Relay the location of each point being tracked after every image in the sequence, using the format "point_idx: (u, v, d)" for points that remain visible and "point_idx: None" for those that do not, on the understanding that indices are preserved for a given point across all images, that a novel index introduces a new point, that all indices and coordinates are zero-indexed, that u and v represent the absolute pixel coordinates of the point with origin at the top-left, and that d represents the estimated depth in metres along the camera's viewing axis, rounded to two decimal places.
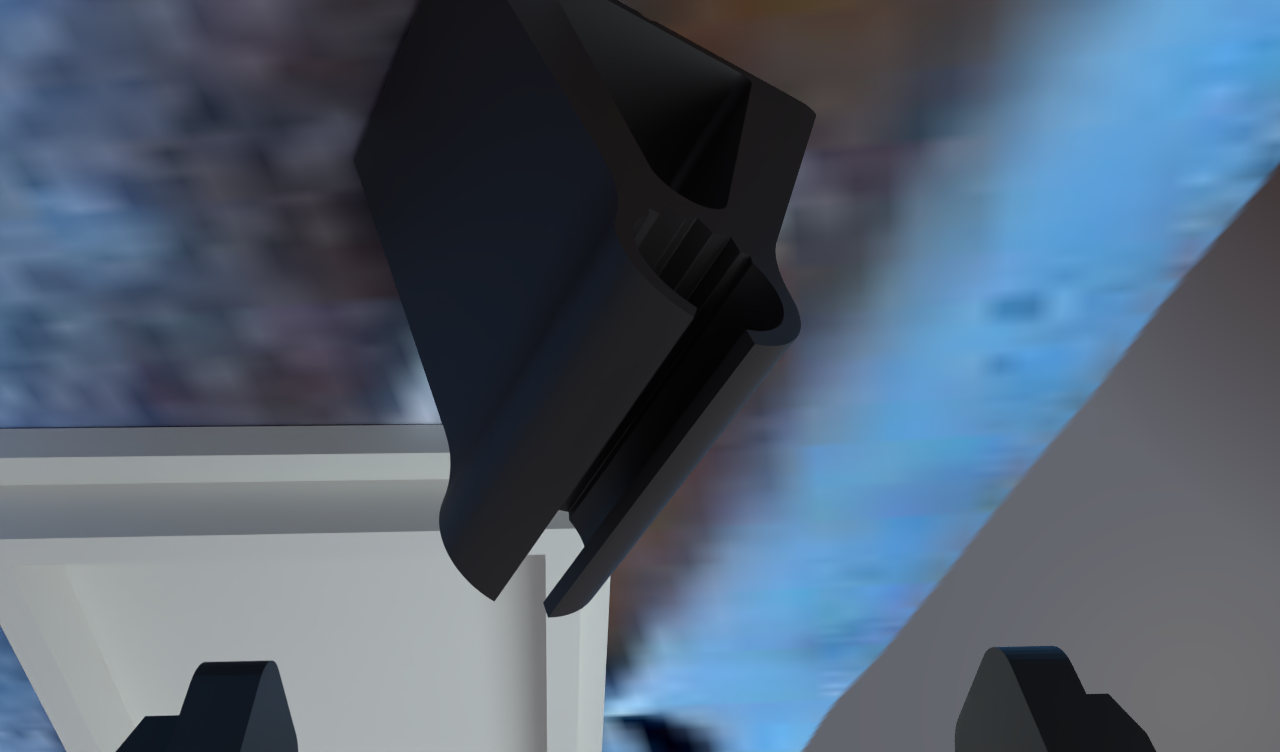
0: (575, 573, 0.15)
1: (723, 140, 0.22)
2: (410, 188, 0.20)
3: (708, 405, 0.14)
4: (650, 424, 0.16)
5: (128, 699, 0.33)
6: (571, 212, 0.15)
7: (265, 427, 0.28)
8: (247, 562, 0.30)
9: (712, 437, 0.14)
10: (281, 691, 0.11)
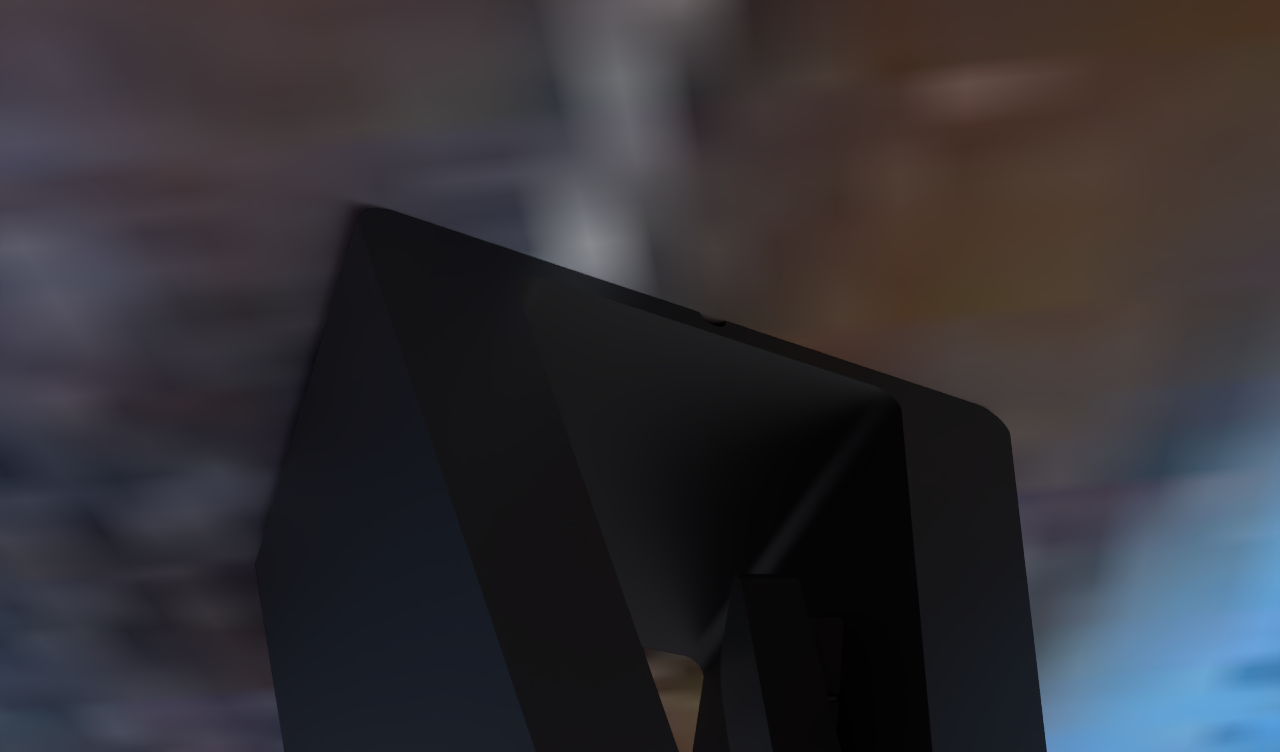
0: None
1: (864, 533, 0.12)
2: (316, 703, 0.11)
3: None
4: None
5: None
6: None
7: None
8: None
9: None
10: None
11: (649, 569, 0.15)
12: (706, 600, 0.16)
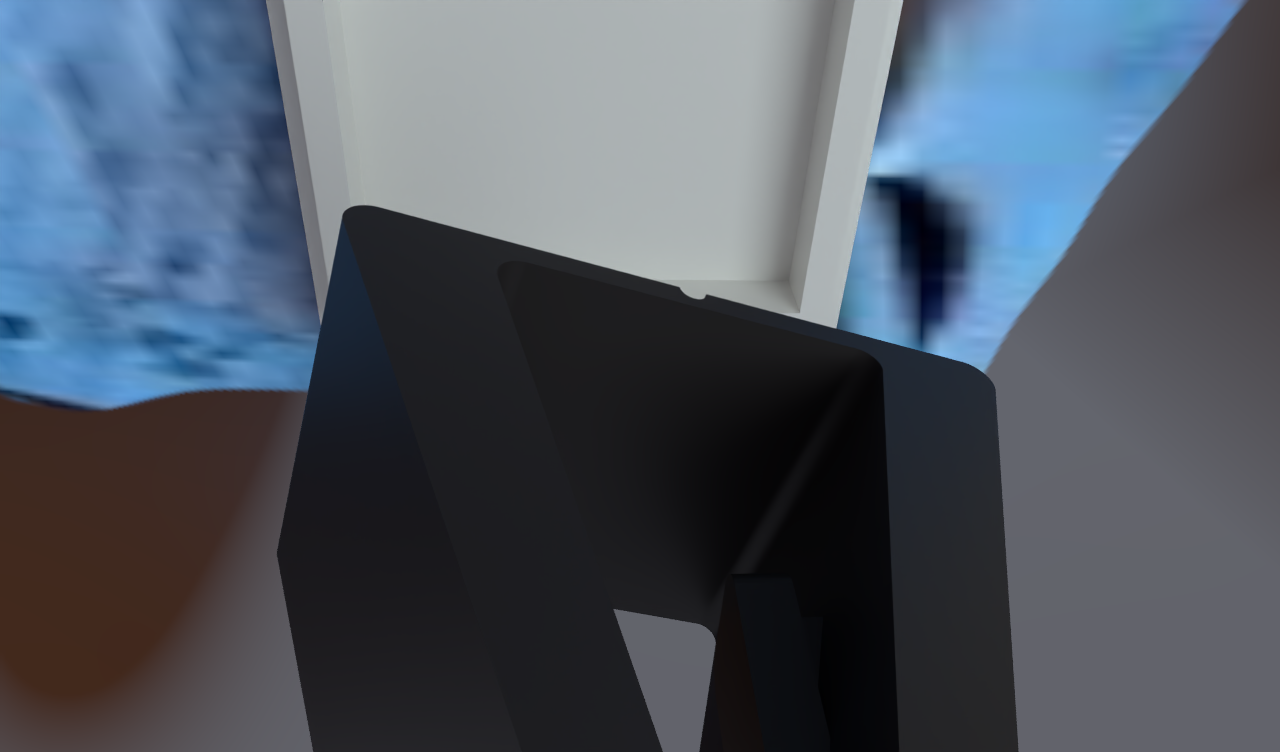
0: None
1: (849, 490, 0.13)
2: (331, 675, 0.12)
3: None
4: None
5: (353, 63, 0.29)
6: None
7: None
8: None
9: None
10: None
11: (653, 539, 0.16)
12: (712, 567, 0.16)
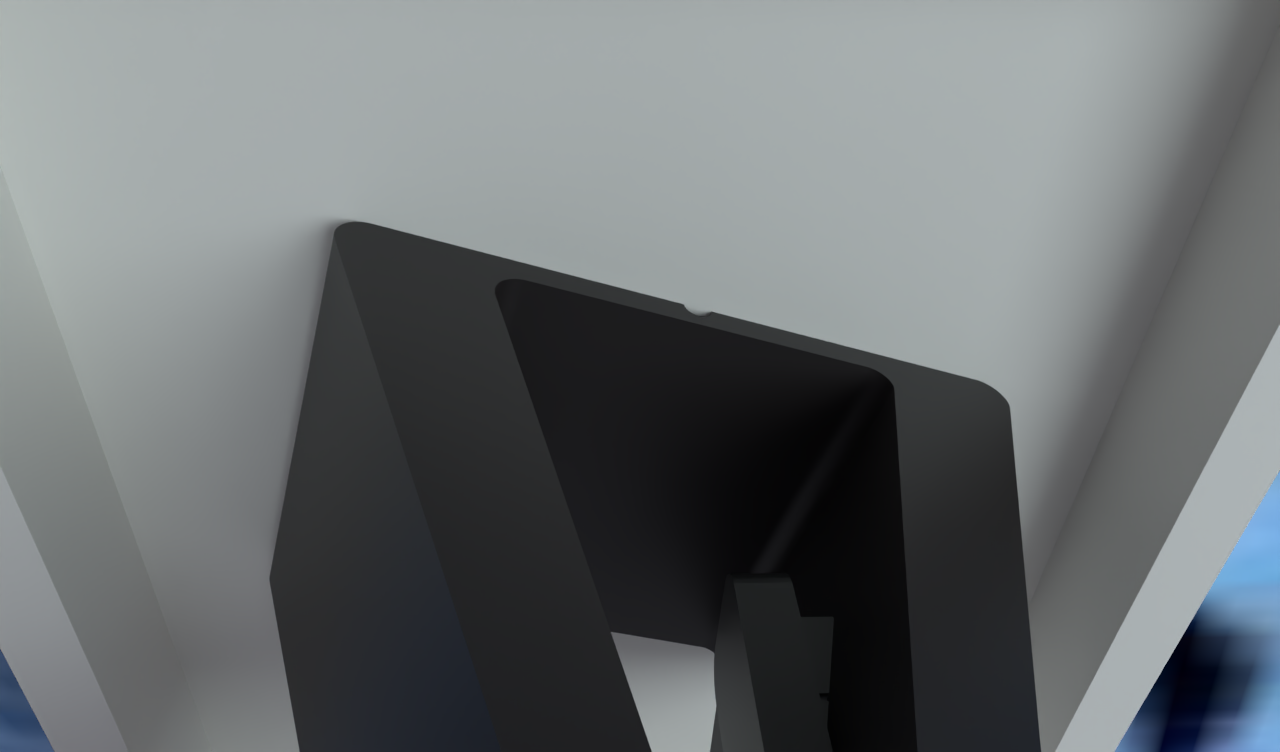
0: None
1: (860, 515, 0.12)
2: (323, 711, 0.12)
3: None
4: None
5: (141, 518, 0.14)
6: None
7: None
8: (471, 85, 0.11)
9: None
10: None
11: (657, 562, 0.15)
12: (718, 591, 0.16)
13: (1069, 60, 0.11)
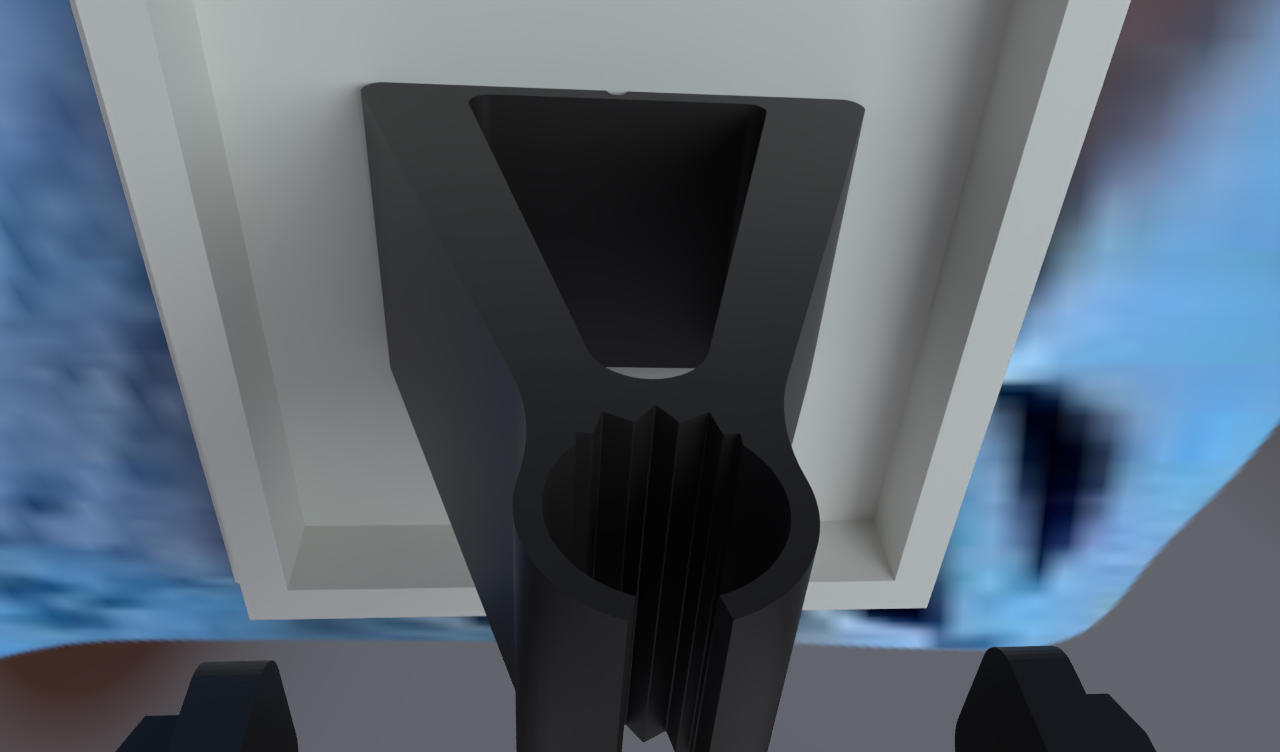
0: None
1: None
2: (422, 400, 0.18)
3: (722, 695, 0.09)
4: None
5: (260, 268, 0.20)
6: (513, 444, 0.12)
7: None
8: None
9: (760, 712, 0.10)
10: (281, 691, 0.11)
11: (653, 299, 0.21)
12: (706, 316, 0.21)
13: None
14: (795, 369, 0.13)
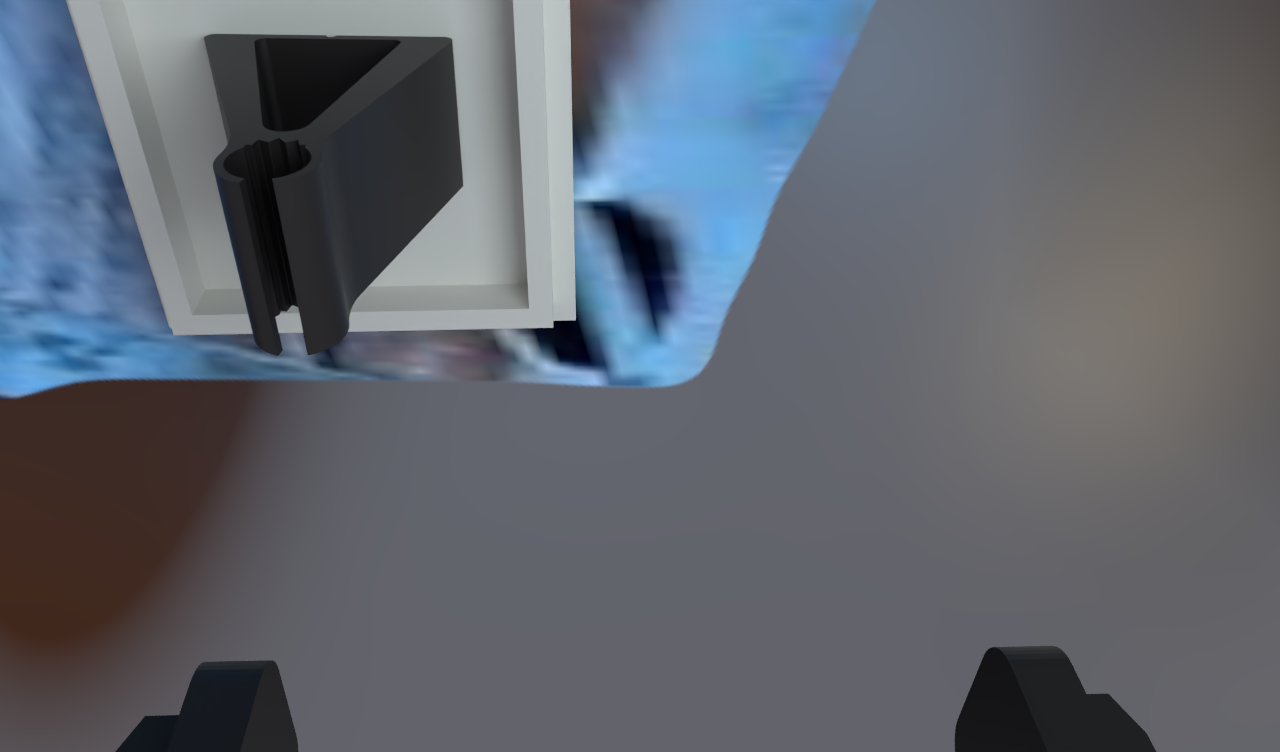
0: (302, 327, 0.31)
1: None
2: None
3: (282, 219, 0.29)
4: None
5: (165, 132, 0.39)
6: None
7: None
8: None
9: (305, 234, 0.29)
10: (281, 691, 0.11)
11: None
12: None
13: None
14: (362, 140, 0.33)
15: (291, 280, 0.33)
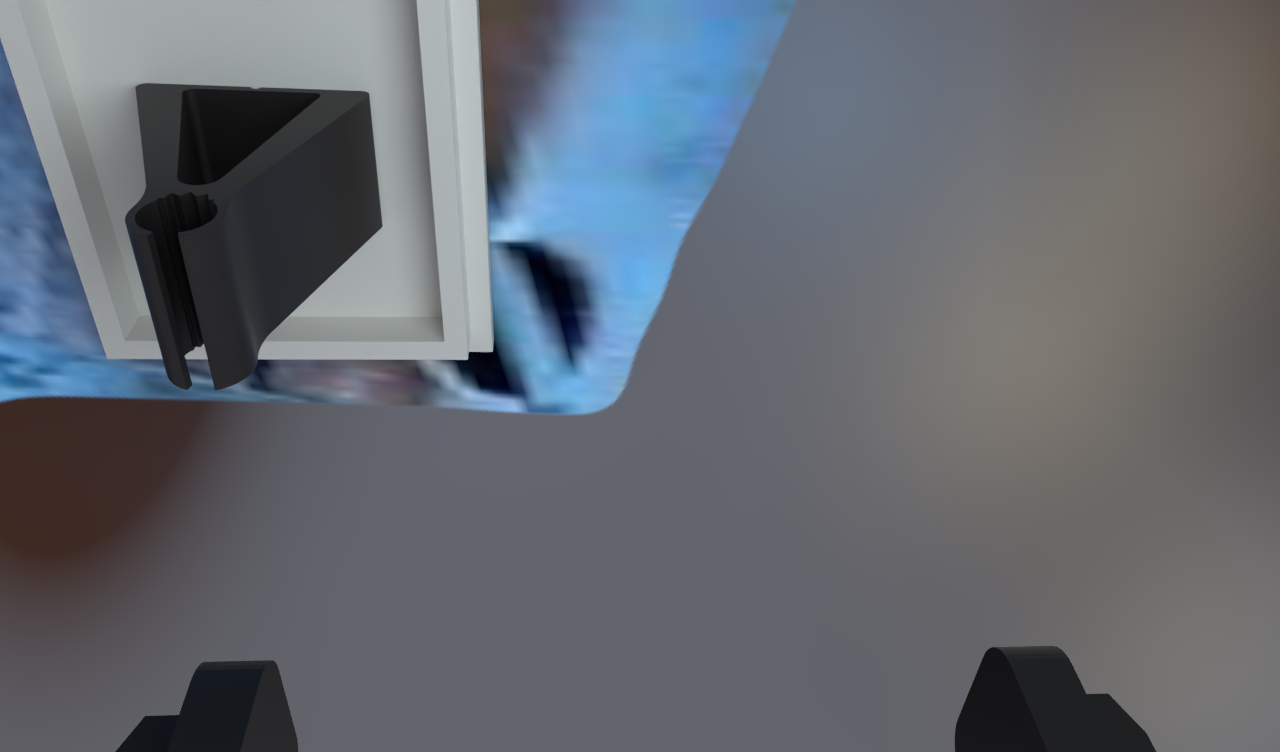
0: (209, 364, 0.34)
1: None
2: None
3: (188, 268, 0.32)
4: None
5: (100, 171, 0.42)
6: None
7: None
8: (190, 17, 0.38)
9: (210, 282, 0.32)
10: (281, 691, 0.11)
11: None
12: None
13: (365, 10, 0.39)
14: (273, 191, 0.35)
15: None
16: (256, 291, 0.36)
